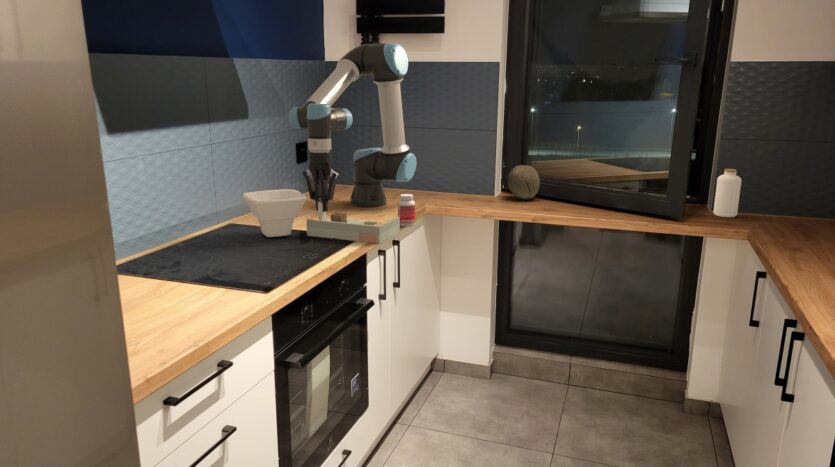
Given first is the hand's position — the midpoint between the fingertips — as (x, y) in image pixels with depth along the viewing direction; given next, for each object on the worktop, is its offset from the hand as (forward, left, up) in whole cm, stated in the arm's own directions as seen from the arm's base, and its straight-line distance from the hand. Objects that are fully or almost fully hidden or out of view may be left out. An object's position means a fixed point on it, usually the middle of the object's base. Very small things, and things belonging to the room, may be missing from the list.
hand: (322, 220), depth 213 cm
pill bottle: (-22, +22, -5) cm, 31 cm away
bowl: (+9, -13, -5) cm, 16 cm away
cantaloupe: (-87, +50, -5) cm, 100 cm away
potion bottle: (-84, +130, -5) cm, 155 cm away
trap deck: (-3, +10, -4) cm, 12 cm away
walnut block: (-1, +6, -1) cm, 6 cm away
